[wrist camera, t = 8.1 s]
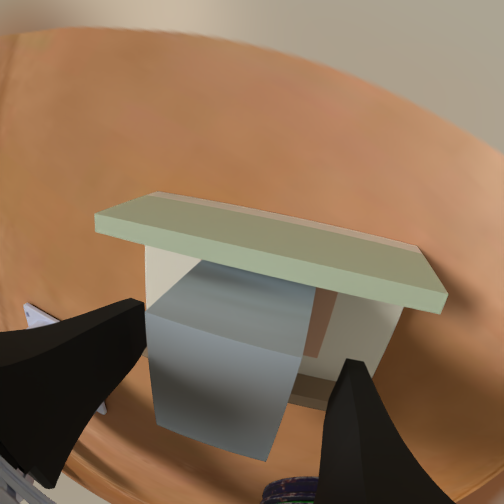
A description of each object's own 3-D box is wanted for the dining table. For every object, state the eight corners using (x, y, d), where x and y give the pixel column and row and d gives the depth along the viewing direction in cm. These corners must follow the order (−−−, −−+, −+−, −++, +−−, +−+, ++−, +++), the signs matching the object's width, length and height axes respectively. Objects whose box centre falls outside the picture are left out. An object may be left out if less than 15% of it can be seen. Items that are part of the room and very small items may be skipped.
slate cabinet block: (295, 357, 14) (265, 461, 9) (215, 335, 15) (156, 424, 9) (320, 261, 12) (301, 358, 7) (224, 239, 13) (144, 311, 7)
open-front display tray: (362, 383, 15) (361, 449, 11) (156, 327, 17) (113, 374, 13) (416, 245, 12) (448, 294, 8) (157, 191, 14) (94, 213, 10)
